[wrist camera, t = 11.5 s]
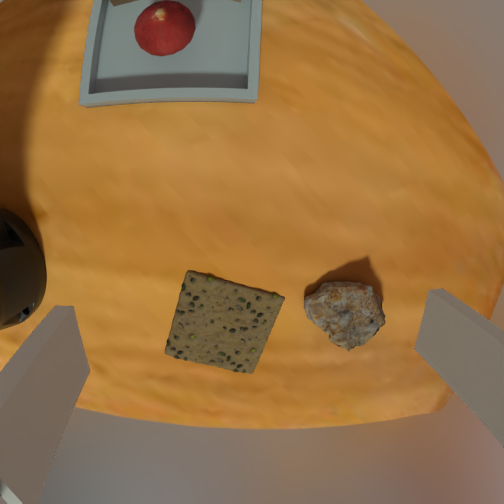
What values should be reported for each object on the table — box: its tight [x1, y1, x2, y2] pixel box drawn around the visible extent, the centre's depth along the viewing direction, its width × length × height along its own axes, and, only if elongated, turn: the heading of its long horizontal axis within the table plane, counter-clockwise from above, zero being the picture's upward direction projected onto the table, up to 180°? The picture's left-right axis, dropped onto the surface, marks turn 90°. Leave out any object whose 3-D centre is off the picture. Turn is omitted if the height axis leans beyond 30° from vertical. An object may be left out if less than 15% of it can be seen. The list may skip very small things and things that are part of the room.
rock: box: [304, 281, 385, 351], centre depth 37 cm, size 9×6×10 cm
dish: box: [79, 0, 262, 108], centre depth 26 cm, size 18×18×2 cm
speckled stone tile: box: [165, 271, 285, 374], centre depth 38 cm, size 12×12×1 cm
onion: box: [134, 0, 196, 56], centre depth 23 cm, size 6×6×8 cm
